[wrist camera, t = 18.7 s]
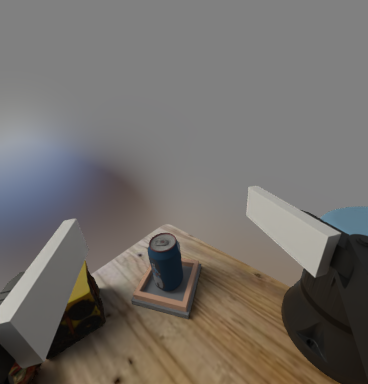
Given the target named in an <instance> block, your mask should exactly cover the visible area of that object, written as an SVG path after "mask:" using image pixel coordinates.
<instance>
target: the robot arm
mask: <svg viewBox="0 0 368 384" xmlns="http://www.w3.org/2000/svg"><path fill="white" fill-rule="evenodd" d="M246 215H247V217H249V218H250V219H251V220H252V221H253V222H254V223H255V224H256V225H257V226H258V227H260V228H261V229H262V230H263V231H264V232H265V233H266V234H267V235H268V236H269V237H271V238H272V239H273V240H274V241H275V242H276V243H277V244H278V245H280V246H281V247H282V248H283V249H284V250H285V251H286V252H287V253H288V254H289V255H290V256H292V257H293V258H294V259H295V260H296V261H297V262H298V263H299V264H300V265H302V266H303V267H304V269H303V272H302V276H301V279H300V280H299V281H298V282H297V283H296V284H295V285H294V286H292V287H291V288H290V289H289V290H288V291H287V292H286V294H285V296H284V299H283V303H282V309H281V312H282V319H283V323H284V326H285V328H286V330H287V332H288V334H289V336H290V338H291V339H292V341H293V343H294V344H295V345H296V347H297V348H298V349H299V350H300V352H301V353H302V354H303V355H304V356H305V357H306V358H307V359H308V360H309V361H310V362H311V363H312V364H313V365H314V366H315V367H317V368H318V369H319V370H320V371H322V372H323V373H324V374H326V375H327V376H329V377H330V378H332V379H334V380H335V381H337V382H339V383H341V384H368V207H346V208H342V209H336V210H333V211H330V212H328V213H326V214H325V215H323V216H322V217H321V218H317V217H316V216H314V215H312V214H311V213H309V212H305V211H303V210H299V209H297V208H295V207H294V206H292V205H290V204H289V203H287V202H285V201H283V200H281V199H280V198H278V197H276V196H274V195H273V194H271V193H269V192H267V191H266V190H264V189H262V188H260V187H258V186H252V187H249V188H248V200H247V214H246ZM88 250H89V249H88V246H87V244H86V241H85V239H84V236H83V234H82V231H81V229H80V226H79V224H78V222H77V219H72V220H66V221H64V222H63V223H62V224H61V226H60V227H59V228H58V230H57V231H56V232H55V234H54V235H53V236H52V238H51V239H50V240H49V241H48V243H47V244H46V246H45V247H44V248H43V249H42V251H41V252H40V254H39V255H38V256H37V257H36V259H35V260H34V261H33V263H32V264H31V265H30V267H29V268H28V269H27V271H25V272H21V273H19V274H18V275H17V276H16V277H15V278H13V279H12V280H11V281H10V282H9V283H8V284H7V285H6V286H5V288H4V289H3V290H2V291H1V292H0V384H14V380H13V378H12V376H11V375H10V374H9V372H10V371H11V369H12V367H13V365H14V363H15V361H16V362H17V364H18V365H19V366H20V367H21V368H22V369H23V368H26V367H30V366H33V365H36V364H39V363H42V362H44V361H45V359H46V356H47V354H48V351H49V349H50V346H51V343H52V341H53V338H54V336H55V333H56V331H57V328H58V326H59V323H60V321H61V318H62V316H63V313H64V311H65V308H66V306H67V303H68V301H69V298H70V296H71V293H72V291H73V288H74V286H75V283H76V281H77V278H78V276H79V273H80V271H81V268H82V266H83V263H84V261H85V258H86V255H87V253H88Z"/></svg>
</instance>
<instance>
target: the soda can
mask: <svg viewBox="0 0 368 384" xmlns="http://www.w3.org/2000/svg"><path fill="white" fill-rule="evenodd" d="M148 255H149V260H150V264H151V269H152V273H153V278H154V282H155V285H156V286H157V287H158V288H159V289H161V290H163V291H173V290H175V289H176V288H177V287H178V286H179V285H180V284H181V282H182V280H183V269H182V261H181V253H180V245H179V242H178V241H177V240H176V238H175V236H174V235H172V234H170V233H161V234H158V235H156V236H154V237H153V238H152V239H151V240H150V242H149V247H148Z"/></svg>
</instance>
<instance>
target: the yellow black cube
mask: <svg viewBox="0 0 368 384" xmlns="http://www.w3.org/2000/svg"><path fill="white" fill-rule="evenodd" d="M104 323H105V317H104V310H103V306H102V301H101V298H99V288H98V286H97V284H96V282H95V279H94V277H92V276H91V275H90V273H89V271H88V268H87V265H86V261H84V263H83V266H82V268H81V271H80V273H79V276H78V278H77V281H76V283H75V286H74V288H73V291H72V293H71V296H70V298H69V301H68V303H67V306H66V308H65V311H64V313H63V316H62V318H61V321H60V323H59V326H58V328H57V331H56V333H55V336H54V338H53V341H52V343H51V346H50V349H49V351H48V354H47V356H46V359H50V358H52V357H54V356H55V355H57V354H58V353H60V352H62V351H64V350H65V349H66V348H67V347H69V346H71V345H73V344H74V343H75V342H77V341H79V340H80V339H82V338H84V337H85V336H86V335H88V334H89V333H91V332H93V331H94V330H96V329H97V328H99V327H100V326H103V324H104Z"/></svg>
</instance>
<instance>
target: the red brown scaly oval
mask: <svg viewBox="0 0 368 384" xmlns="http://www.w3.org/2000/svg"><path fill="white" fill-rule="evenodd" d="M40 366H41V363H39V364H36V365H33V366H30V367H26V368H23V369H22V368H21V367H20V366H19V365H18V364H17V362H16V361H15V363H14V365H13V367H12V369H11V371H10V372H9V374H10V375H11V376H12V378H13V380H14V384H29V383H30V382H31V380H32V378H33V377H34V376H35V375H36V374H38V371H39V369H40Z"/></svg>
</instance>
